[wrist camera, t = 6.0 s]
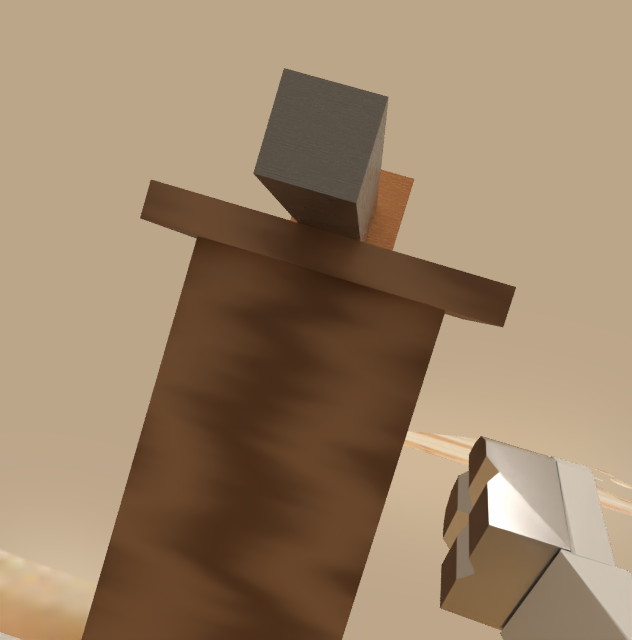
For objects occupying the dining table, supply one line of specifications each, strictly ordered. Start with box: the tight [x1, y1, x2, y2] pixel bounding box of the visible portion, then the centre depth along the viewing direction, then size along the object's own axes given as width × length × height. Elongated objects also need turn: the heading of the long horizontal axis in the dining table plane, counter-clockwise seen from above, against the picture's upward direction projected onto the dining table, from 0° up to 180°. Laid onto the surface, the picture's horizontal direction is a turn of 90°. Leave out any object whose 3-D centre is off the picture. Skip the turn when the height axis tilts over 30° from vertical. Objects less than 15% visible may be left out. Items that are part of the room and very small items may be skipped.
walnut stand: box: [82, 180, 516, 640], centre depth 27 cm, size 14×10×26 cm
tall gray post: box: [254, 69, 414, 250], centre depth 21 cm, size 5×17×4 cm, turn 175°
